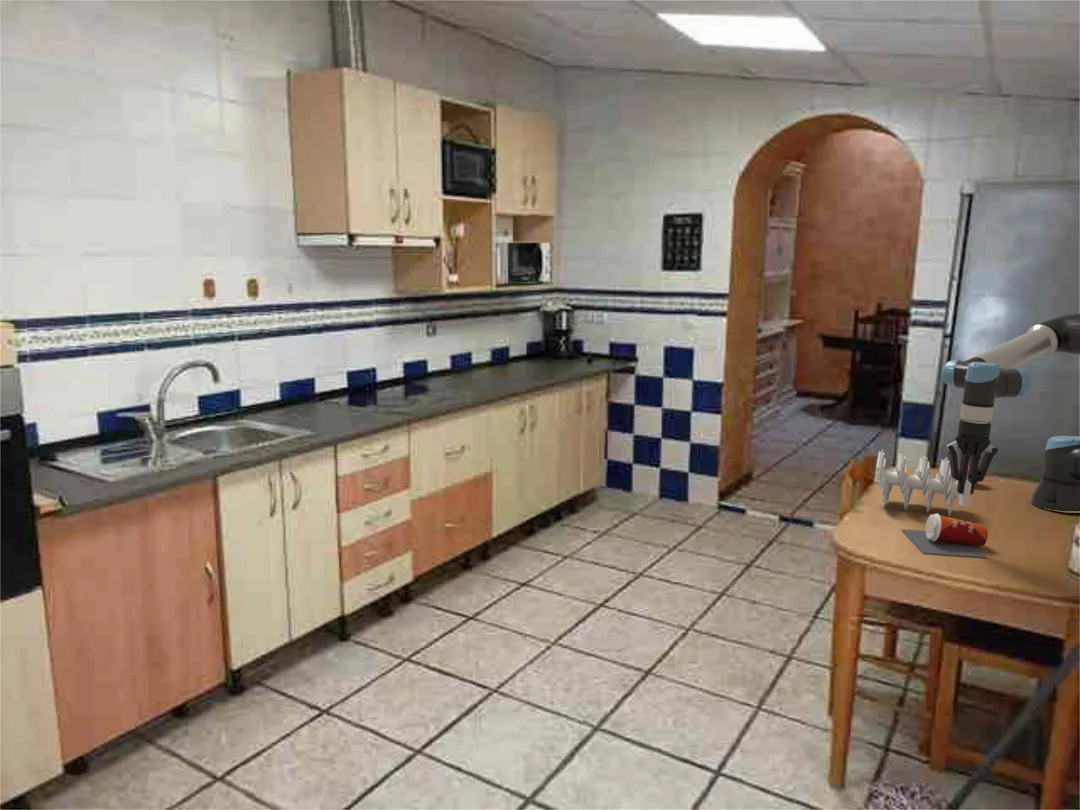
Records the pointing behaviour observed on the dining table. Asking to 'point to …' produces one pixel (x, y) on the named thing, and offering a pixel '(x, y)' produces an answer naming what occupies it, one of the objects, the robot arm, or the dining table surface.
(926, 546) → the mat
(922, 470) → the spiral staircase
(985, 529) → the paper cup
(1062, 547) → the dining table surface
